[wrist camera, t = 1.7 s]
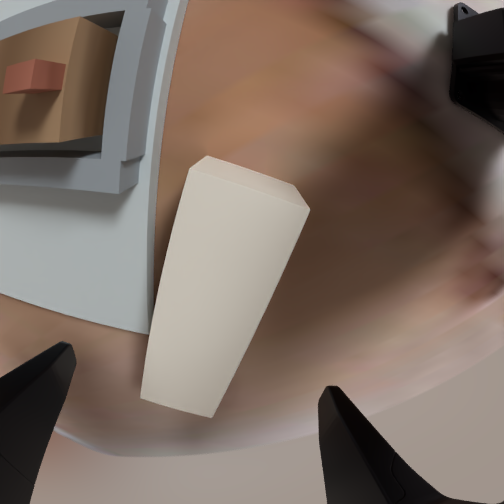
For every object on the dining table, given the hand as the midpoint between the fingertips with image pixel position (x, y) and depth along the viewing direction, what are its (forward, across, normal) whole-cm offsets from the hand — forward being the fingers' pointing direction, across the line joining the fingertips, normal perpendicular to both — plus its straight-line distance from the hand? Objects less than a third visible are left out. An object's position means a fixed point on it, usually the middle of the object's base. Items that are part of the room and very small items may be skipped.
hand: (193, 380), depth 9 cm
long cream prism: (+7, 0, 0) cm, 7 cm away
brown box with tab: (+5, +11, -9) cm, 15 cm away
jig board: (+6, +10, -8) cm, 14 cm away
